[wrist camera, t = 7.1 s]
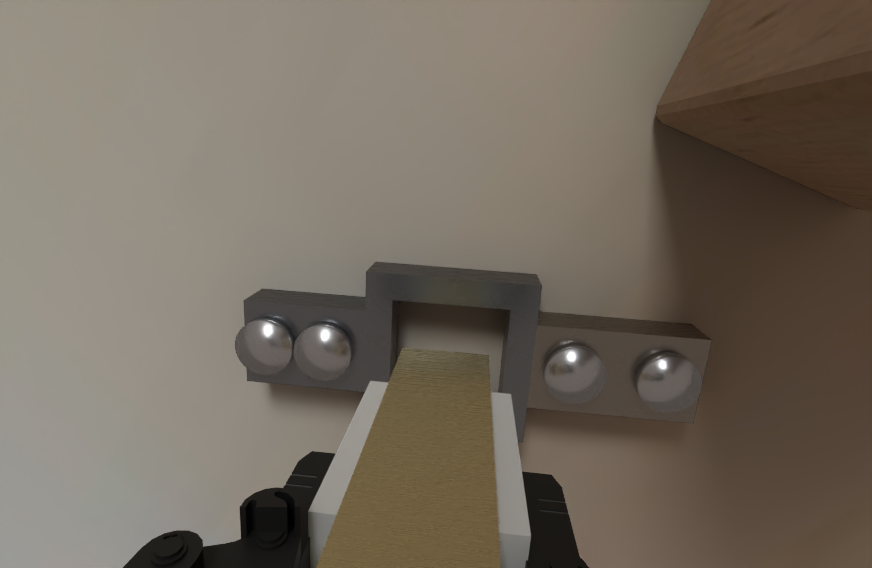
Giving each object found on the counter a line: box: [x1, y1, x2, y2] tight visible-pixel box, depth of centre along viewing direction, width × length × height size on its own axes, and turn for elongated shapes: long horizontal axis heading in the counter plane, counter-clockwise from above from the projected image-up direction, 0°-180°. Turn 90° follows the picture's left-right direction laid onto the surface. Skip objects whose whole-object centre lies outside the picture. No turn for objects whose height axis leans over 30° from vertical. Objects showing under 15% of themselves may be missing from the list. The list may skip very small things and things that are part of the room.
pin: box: [316, 348, 501, 568], centre depth 14 cm, size 3×3×12 cm
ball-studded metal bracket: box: [235, 262, 712, 442], centre depth 23 cm, size 8×21×3 cm, turn 87°
